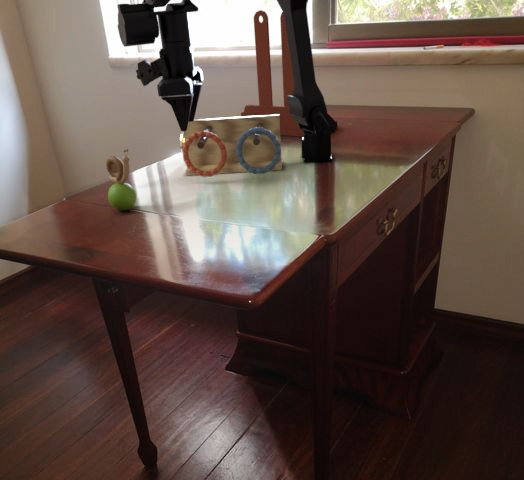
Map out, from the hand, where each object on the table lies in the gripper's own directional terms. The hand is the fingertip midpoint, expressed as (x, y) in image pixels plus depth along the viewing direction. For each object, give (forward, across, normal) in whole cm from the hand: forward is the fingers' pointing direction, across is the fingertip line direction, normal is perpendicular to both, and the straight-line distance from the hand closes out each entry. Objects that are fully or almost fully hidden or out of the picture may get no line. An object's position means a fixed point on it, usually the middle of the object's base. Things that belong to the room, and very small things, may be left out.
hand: (187, 126), depth 116 cm
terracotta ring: (+6, 0, +3) cm, 7 cm away
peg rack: (+12, -4, +8) cm, 15 cm away
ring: (+12, -20, -4) cm, 24 cm away
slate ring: (+6, 0, +14) cm, 16 cm away
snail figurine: (+12, +16, -12) cm, 23 cm away
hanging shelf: (+12, -48, +20) cm, 53 cm away
